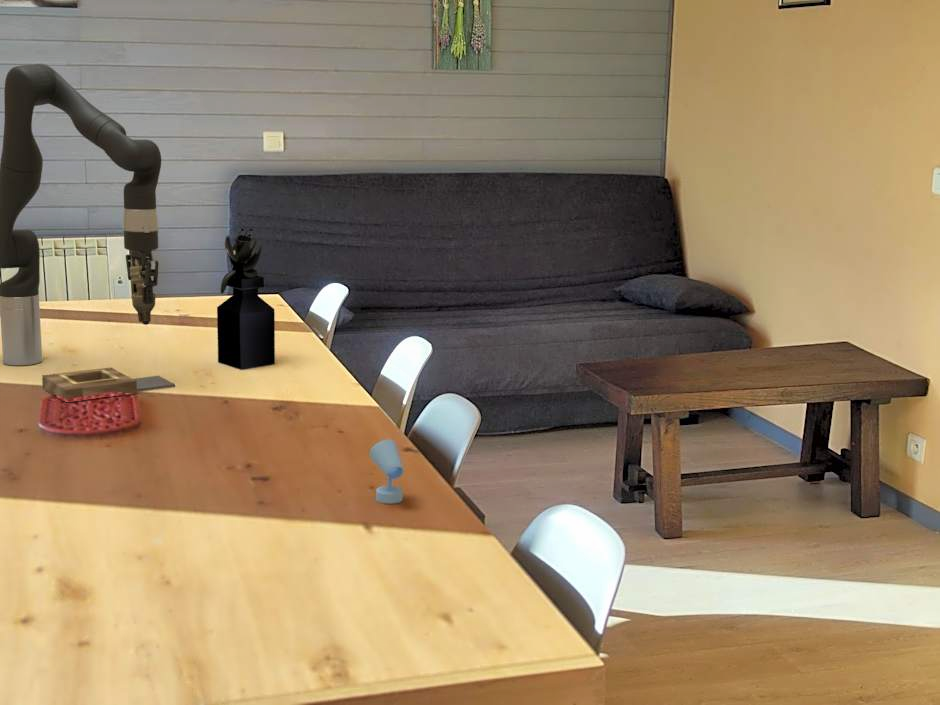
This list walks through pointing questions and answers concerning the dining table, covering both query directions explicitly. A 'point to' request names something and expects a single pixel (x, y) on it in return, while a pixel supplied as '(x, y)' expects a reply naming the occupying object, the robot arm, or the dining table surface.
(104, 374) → the socket block
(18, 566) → the dining table surface
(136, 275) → the tan ridged rounded piece
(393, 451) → the spotlight
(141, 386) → the mat
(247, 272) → the vase
